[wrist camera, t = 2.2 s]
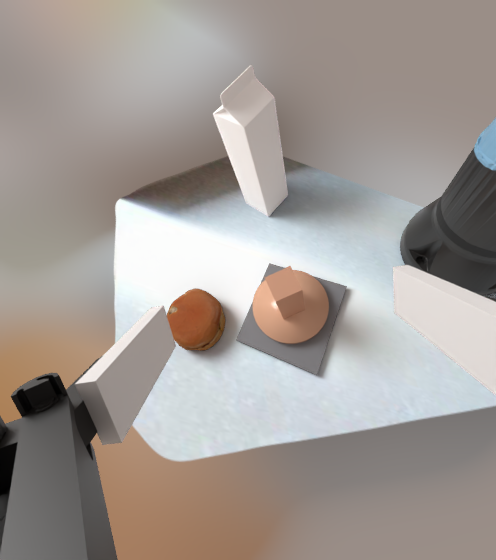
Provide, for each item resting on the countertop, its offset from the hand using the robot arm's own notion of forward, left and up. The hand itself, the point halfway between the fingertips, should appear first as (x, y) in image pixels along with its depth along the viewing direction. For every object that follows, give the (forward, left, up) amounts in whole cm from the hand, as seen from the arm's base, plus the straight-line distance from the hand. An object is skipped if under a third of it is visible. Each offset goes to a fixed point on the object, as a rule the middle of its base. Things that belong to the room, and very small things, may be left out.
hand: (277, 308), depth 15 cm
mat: (+3, -5, -26) cm, 27 cm away
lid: (+4, -6, -25) cm, 26 cm away
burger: (+18, +1, -26) cm, 32 cm away
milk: (+16, -25, -26) cm, 40 cm away
